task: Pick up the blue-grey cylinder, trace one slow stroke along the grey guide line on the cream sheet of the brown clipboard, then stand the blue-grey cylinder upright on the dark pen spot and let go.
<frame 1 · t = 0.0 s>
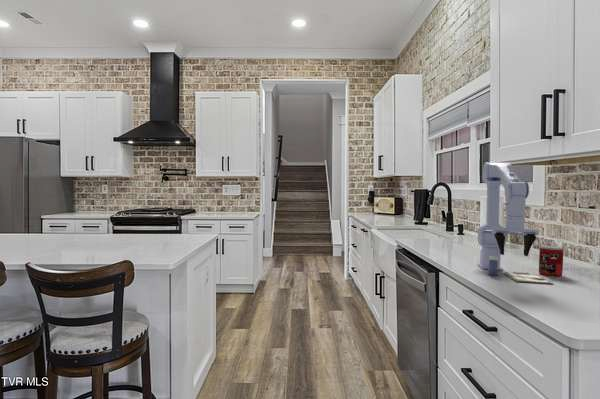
hand: (513, 255, 137), 10 cm above the countertop, tool pointing down, fingers open, 7 cm apart
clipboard: (527, 278, 146), on the countertop
blue-grey cylinder: (492, 275, 151), on the countertop
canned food: (550, 275, 154), on the countertop
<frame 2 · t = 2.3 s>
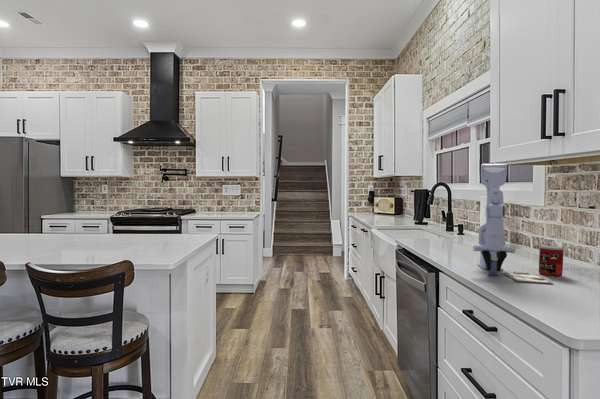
hand: (493, 270, 151), 2 cm above the countertop, tool pointing down, fingers closed on blue-grey cylinder, 3 cm apart
blue-grey cylinder: (492, 275, 151), on the countertop, touching gripper
everything else where it was.
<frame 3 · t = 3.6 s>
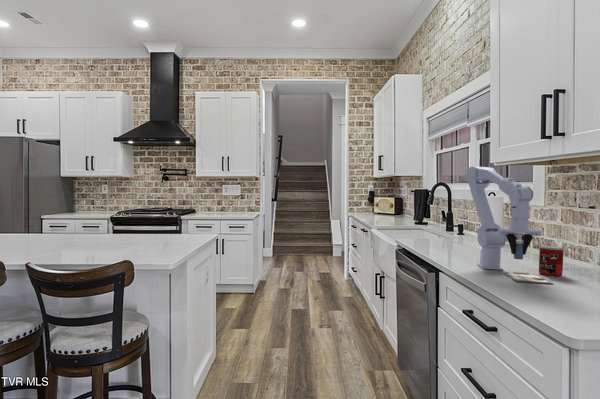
hand: (518, 254, 150), 8 cm above the countertop, tool pointing down, fingers closed on blue-grey cylinder, 3 cm apart
blue-grey cylinder: (518, 258, 150), point 7 cm above the countertop, touching gripper
everything else where it was.
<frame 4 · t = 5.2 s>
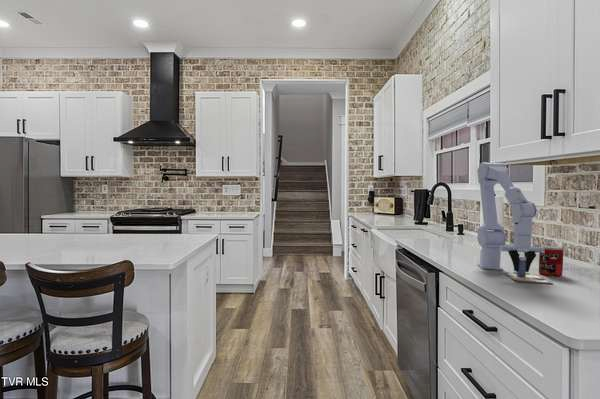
hand: (521, 271, 147), 3 cm above the countertop, tool pointing down, fingers closed on blue-grey cylinder, 3 cm apart
blue-grey cylinder: (521, 275, 147), point 1 cm above the countertop, touching gripper
everything else where it was.
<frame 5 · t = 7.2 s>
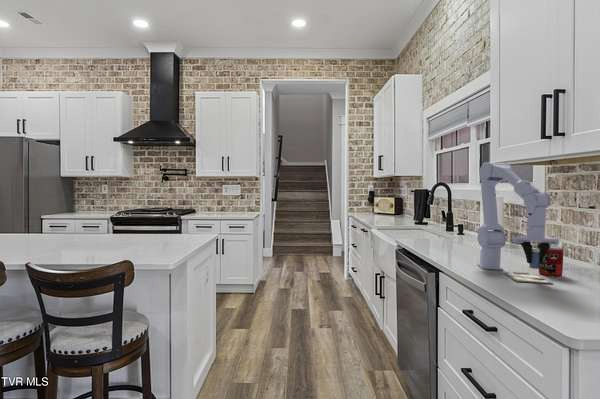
hand: (534, 263, 143), 6 cm above the countertop, tool pointing down, fingers closed on blue-grey cylinder, 3 cm apart
blue-grey cylinder: (534, 267, 143), point 5 cm above the countertop, touching gripper
everything else where it was.
when the fingers open (2 cm above the countertop, at t = 8.4 s): blue-grey cylinder stays where it is, resting on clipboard.
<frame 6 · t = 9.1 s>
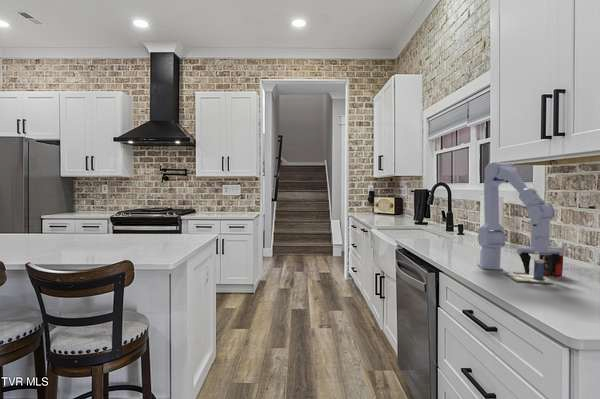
hand: (538, 274, 143), 2 cm above the countertop, tool pointing down, fingers open, 7 cm apart
blue-grey cylinder: (538, 279, 143), point 1 cm above the countertop, touching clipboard
everything else where it was.
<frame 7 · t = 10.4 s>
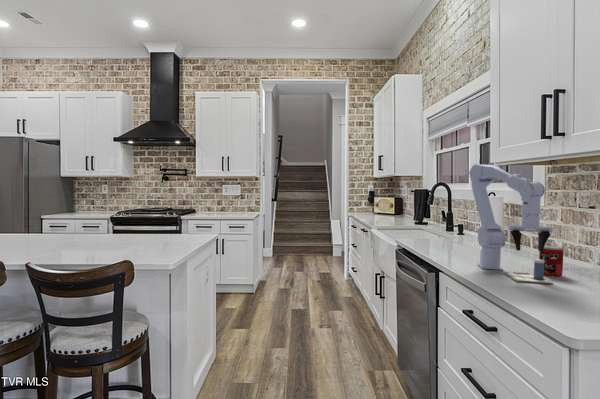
hand: (529, 250, 147), 10 cm above the countertop, tool pointing down, fingers open, 7 cm apart
nothing on the countertop moved.
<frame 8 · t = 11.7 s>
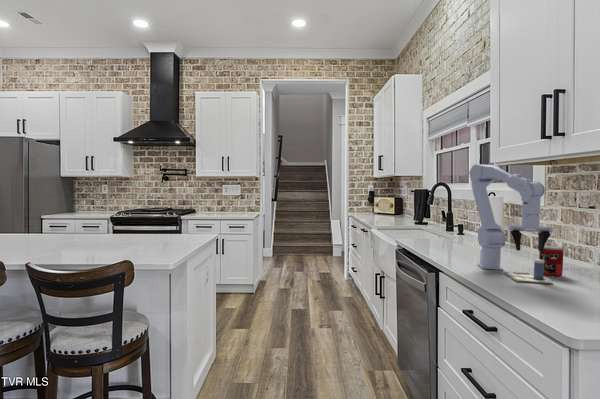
hand: (529, 250, 147), 10 cm above the countertop, tool pointing down, fingers open, 7 cm apart
nothing on the countertop moved.
at the end: blue-grey cylinder 0.1 cm from the target spot, point 0.7 cm above the countertop; blue-grey cylinder tilted 0°; the gripper is holding nothing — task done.
